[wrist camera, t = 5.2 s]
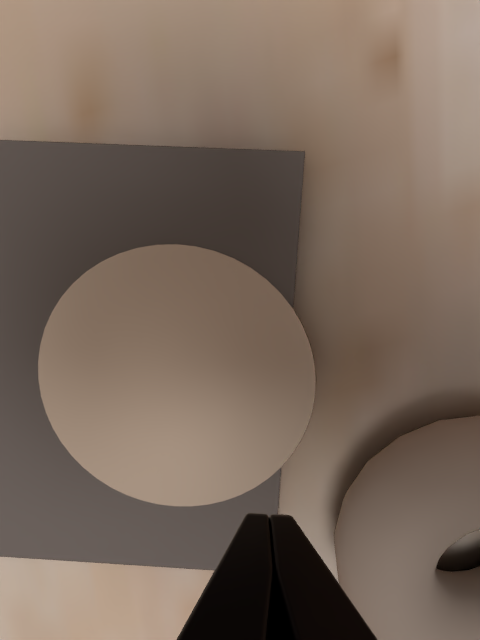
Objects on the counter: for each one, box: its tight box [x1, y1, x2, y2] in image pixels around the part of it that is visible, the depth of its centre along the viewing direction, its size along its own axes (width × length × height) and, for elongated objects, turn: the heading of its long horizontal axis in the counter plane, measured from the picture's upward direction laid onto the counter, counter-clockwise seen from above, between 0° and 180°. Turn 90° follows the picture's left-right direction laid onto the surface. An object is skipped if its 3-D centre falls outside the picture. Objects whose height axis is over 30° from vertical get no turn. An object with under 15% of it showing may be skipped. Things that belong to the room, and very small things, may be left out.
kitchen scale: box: [0, 140, 316, 570], centre depth 14 cm, size 16×16×1 cm
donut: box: [334, 416, 480, 640], centre depth 13 cm, size 10×3×10 cm
